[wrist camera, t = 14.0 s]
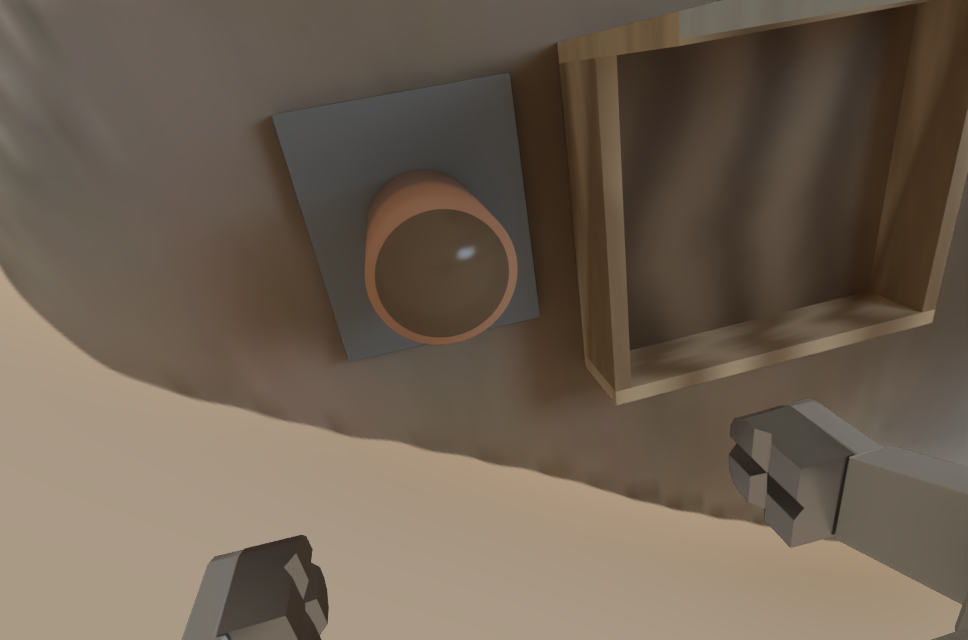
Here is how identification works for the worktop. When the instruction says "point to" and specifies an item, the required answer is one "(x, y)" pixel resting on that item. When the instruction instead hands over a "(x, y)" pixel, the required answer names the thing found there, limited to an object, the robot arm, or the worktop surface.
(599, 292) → the brown patterned open box
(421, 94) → the slate tile
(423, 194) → the terracotta pot
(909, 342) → the worktop surface
